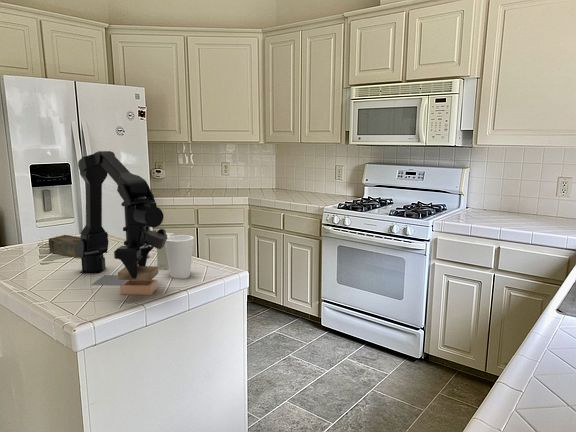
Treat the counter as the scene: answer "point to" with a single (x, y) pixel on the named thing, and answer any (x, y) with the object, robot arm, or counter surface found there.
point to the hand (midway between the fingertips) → (138, 274)
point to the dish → (138, 287)
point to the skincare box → (163, 256)
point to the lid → (139, 273)
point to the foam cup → (179, 255)
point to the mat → (109, 280)
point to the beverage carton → (64, 245)
